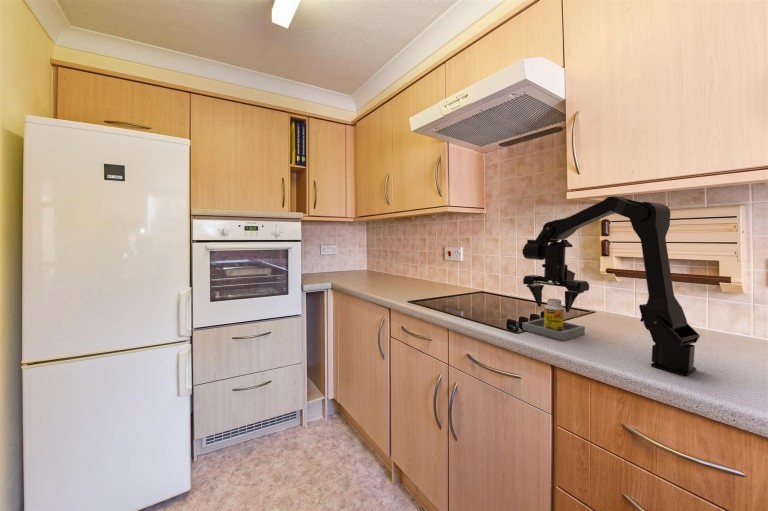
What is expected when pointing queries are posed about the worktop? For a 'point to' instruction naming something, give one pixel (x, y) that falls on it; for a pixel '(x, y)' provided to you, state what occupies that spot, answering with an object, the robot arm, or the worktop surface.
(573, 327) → the tray
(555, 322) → the supplement bottle
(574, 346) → the worktop surface
